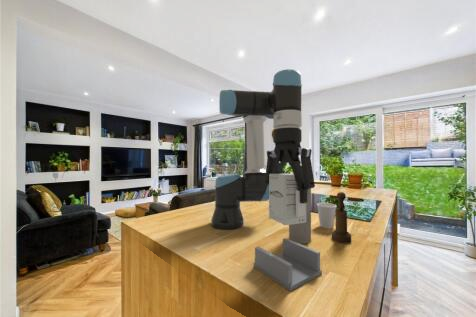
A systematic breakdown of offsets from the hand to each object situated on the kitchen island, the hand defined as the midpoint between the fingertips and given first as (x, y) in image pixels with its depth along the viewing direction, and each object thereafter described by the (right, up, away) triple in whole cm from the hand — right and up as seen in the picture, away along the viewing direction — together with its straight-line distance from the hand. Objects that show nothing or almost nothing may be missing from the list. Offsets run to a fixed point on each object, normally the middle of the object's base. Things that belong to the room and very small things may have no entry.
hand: (287, 212), depth 54 cm
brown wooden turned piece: (+26, -17, +22) cm, 38 cm away
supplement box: (0, -2, 0) cm, 2 cm away
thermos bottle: (+10, -16, +22) cm, 29 cm away
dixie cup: (+27, -17, +38) cm, 49 cm away
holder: (0, -16, 0) cm, 16 cm away
